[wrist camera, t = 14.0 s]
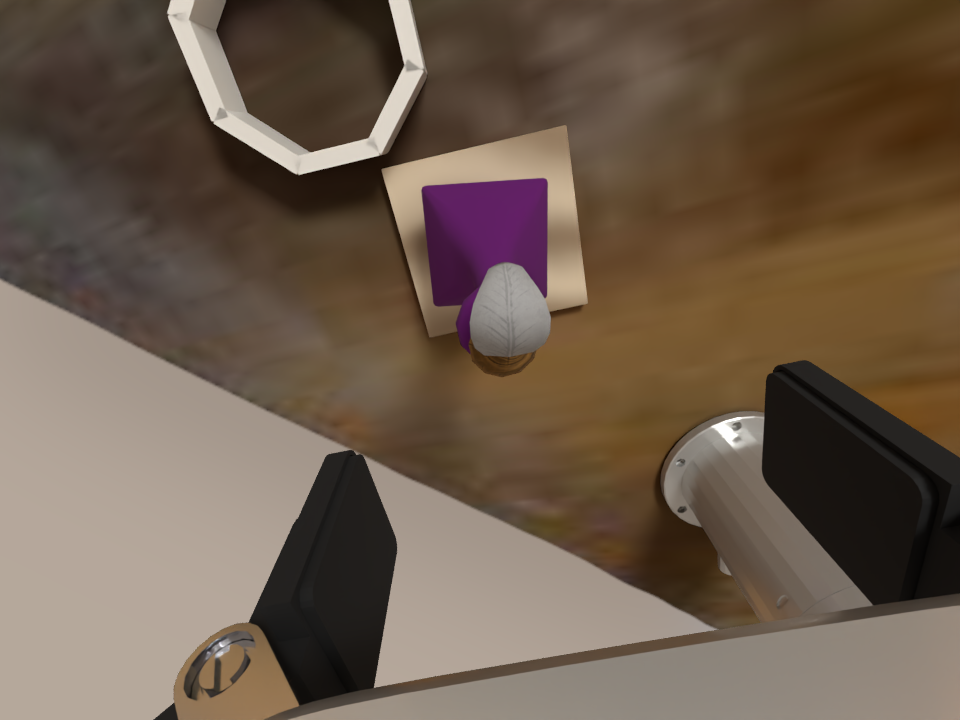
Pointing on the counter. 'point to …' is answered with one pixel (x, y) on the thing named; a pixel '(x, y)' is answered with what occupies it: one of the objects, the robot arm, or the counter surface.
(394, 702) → the robot arm
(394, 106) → the holder ring
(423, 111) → the counter surface
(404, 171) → the coaster board
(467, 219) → the perfume bottle
